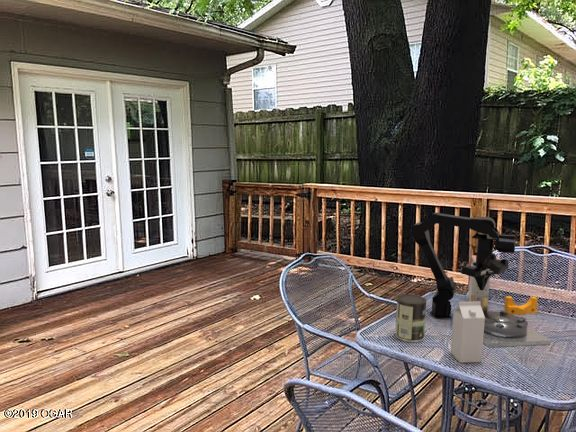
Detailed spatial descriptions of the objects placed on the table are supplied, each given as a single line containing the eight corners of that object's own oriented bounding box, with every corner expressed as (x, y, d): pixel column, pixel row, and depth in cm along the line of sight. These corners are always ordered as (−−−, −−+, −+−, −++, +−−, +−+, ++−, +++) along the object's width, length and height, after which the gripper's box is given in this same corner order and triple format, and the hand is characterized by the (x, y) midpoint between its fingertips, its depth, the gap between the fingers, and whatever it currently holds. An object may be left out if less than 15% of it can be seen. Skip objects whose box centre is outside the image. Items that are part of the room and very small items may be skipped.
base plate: (488, 347, 162) (489, 334, 162) (456, 321, 185) (457, 310, 184) (550, 344, 165) (551, 332, 164) (511, 319, 188) (512, 308, 187)
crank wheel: (536, 331, 172) (539, 306, 170) (507, 341, 163) (510, 315, 162) (495, 315, 186) (497, 293, 185) (466, 324, 177) (468, 300, 176)
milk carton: (450, 353, 158) (454, 298, 155) (471, 352, 158) (475, 297, 155) (459, 363, 151) (464, 306, 148) (481, 362, 151) (486, 305, 148)
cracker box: (487, 313, 194) (491, 263, 190) (471, 312, 195) (475, 262, 192) (482, 302, 207) (485, 255, 204) (467, 300, 208) (471, 254, 205)
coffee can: (423, 332, 175) (425, 295, 172) (425, 343, 165) (427, 304, 162) (394, 329, 177) (396, 293, 174) (395, 341, 167) (396, 302, 164)
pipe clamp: (508, 314, 193) (510, 299, 192) (504, 311, 197) (505, 296, 196) (538, 315, 193) (540, 300, 192) (533, 311, 197) (534, 296, 196)
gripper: (487, 258, 168) (484, 300, 170) (519, 252, 177) (515, 292, 180) (461, 251, 177) (458, 291, 180) (493, 246, 187) (489, 284, 189)
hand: (481, 290), depth 182 cm, fingers closed
